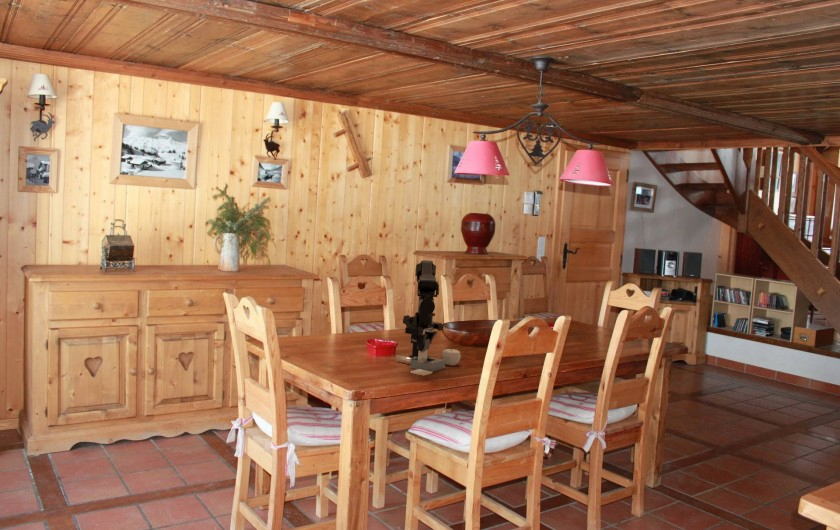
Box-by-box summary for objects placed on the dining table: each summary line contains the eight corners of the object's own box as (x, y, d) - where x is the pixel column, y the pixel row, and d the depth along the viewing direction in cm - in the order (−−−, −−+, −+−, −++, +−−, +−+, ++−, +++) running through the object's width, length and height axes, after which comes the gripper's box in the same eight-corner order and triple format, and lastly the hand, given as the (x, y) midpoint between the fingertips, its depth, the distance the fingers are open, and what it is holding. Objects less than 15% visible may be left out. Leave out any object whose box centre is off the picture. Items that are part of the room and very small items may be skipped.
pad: (419, 370, 281) (419, 368, 281) (432, 373, 278) (432, 371, 278) (410, 372, 276) (410, 371, 276) (423, 375, 273) (423, 374, 272)
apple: (439, 365, 292) (441, 350, 291) (441, 362, 299) (443, 346, 299) (459, 367, 291) (460, 351, 290) (460, 363, 298) (462, 348, 298)
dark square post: (420, 361, 279) (422, 337, 278) (428, 362, 277) (429, 338, 276) (416, 362, 276) (417, 338, 275) (423, 364, 274) (425, 339, 273)
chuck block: (403, 359, 298) (404, 351, 298) (444, 368, 287) (445, 359, 287) (389, 363, 290) (390, 354, 290) (431, 372, 279) (431, 363, 279)
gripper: (421, 305, 287) (418, 343, 288) (394, 309, 271) (391, 349, 273) (445, 309, 281) (442, 348, 282) (419, 313, 265) (416, 354, 267)
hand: (422, 350), depth 276 cm, fingers closed on dark square post, 3 cm apart
